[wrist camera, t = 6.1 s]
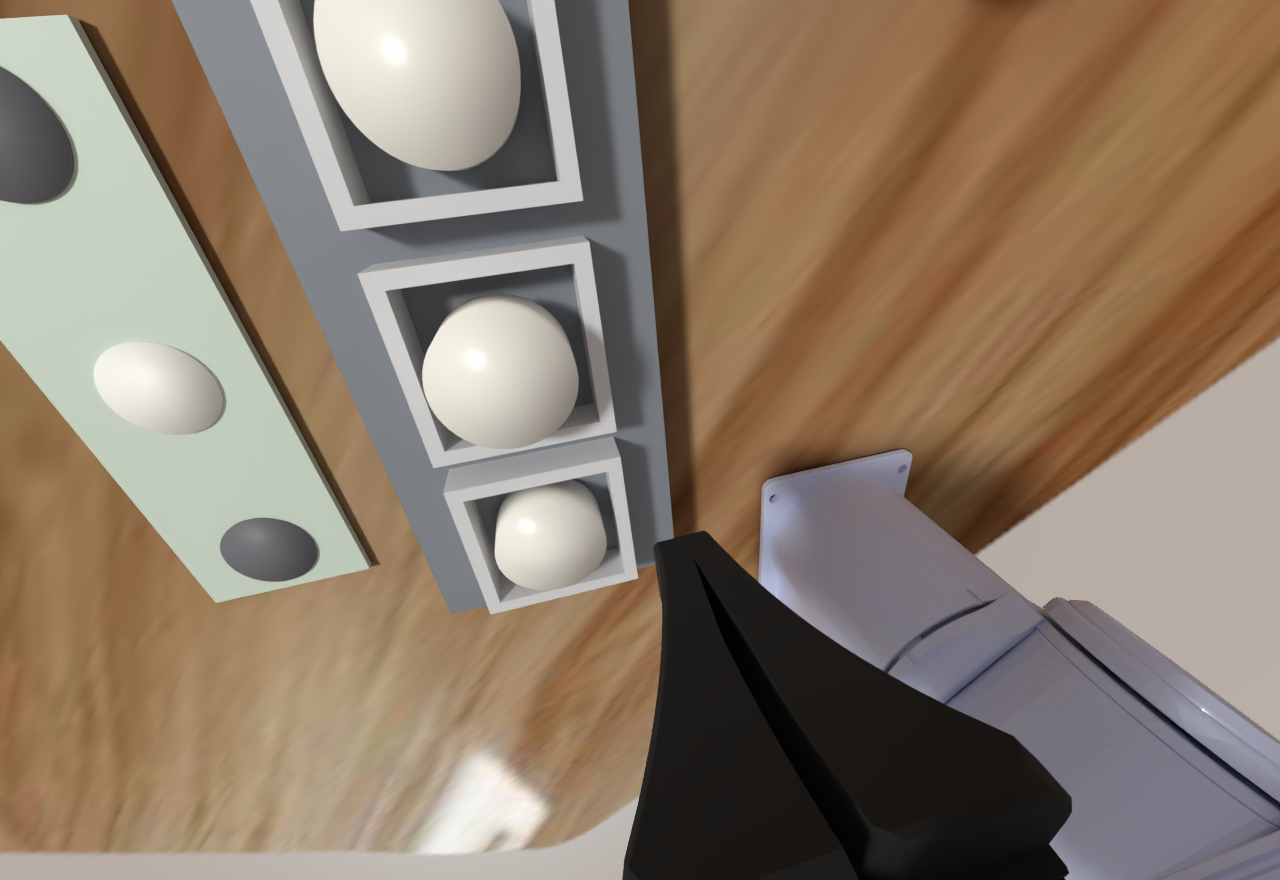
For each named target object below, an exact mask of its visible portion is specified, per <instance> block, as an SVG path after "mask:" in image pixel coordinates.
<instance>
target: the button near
mask: <svg viewBox="0 0 1280 880" xmlns="http://www.w3.org/2000/svg"><path fill="white" fill-rule="evenodd" d="M313 22H314V36H315V42H316V48H317V53H318V56H319V60H320V63H321V67H322V70H323V72H324V75H325V77H326V80H327V82H328V84H329V86H330V88H331V90H332V92H333V94H334V96H335V98H336V100H337V101H338V103H339V104H340V106H341V107H342V109H343V110H344V112H345V113H346V115H347V116H348V117H349V118H350V120H351V121H352V122H353V123H354V125H355V126H356V127H357V128H358V129H359V130H360V131H361V132H362V133H363V134H364V135H365V136H366V137H367V138H368V139H369V140H371V141H372V142H373V143H374V144H375V145H377V146H378V147H379V148H381V149H382V150H384V151H385V152H387V153H388V154H390V155H391V156H393V157H395V158H397V159H399V160H401V161H403V162H406V163H408V164H411V165H414V166H417V167H421V168H425V169H431V170H441V171H462V170H467V169H471V168H474V167H477V166H479V165H481V164H483V163H485V162H487V161H488V160H490V159H491V158H492V157H494V156H495V155H496V154H497V153H498V152H499V151H500V150H501V149H502V148H503V146H504V145H505V143H506V142H507V141H508V139H509V137H510V135H511V133H512V131H513V129H514V126H515V123H516V120H517V117H518V112H519V106H520V93H521V78H520V63H519V55H518V50H517V46H516V42H515V38H514V35H513V32H512V29H511V26H510V23H509V21H508V19H507V16H506V14H505V12H504V10H503V8H502V6H501V4H500V2H499V1H498V0H315V3H314V18H313Z"/></svg>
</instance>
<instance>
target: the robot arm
mask: <svg viewBox="0 0 1280 880" xmlns="http://www.w3.org/2000/svg"><path fill="white" fill-rule="evenodd" d="M911 462H912V454H911V453H910V452H909V451H907V450H905V449H900V450H896V451H891V452H887V453H882V454H878V455H873V456H869V457H864V458H860V459H855V460H851V461H846V462H842V463H837V464H833V465H828V466H824V467H819V468H815V469H810V470H806V471H802V472H797V473H793V474H788V475H784V476H779V477H775V478H771V479H768V480H767V481H766V482H765V483H764V484H763V487H762V503H761V528H760V554H759V579H758V581H757V580H755V579H754V578H753V577H752V576H751V575H750V574H749V573H748V572H747V571H745V570H744V569H743V568H742V567H741V566H740V565H739V564H738V563H737V562H736V561H735V560H734V559H733V558H732V557H731V556H730V555H729V554H728V553H727V552H726V551H725V550H724V549H723V548H722V547H721V546H720V545H719V544H718V543H717V542H716V541H715V540H714V539H713V538H712V537H711V536H710V534H709V533H707V532H706V531H701V532H697V533H693V534H689V535H685V536H681V537H677V538H673V539H669V540H665V541H661V542H657V543H656V544H655V545H654V547H653V550H654V557H655V564H656V571H657V577H658V584H659V591H660V597H661V601H662V649H661V664H660V675H659V684H658V694H657V701H656V708H655V716H654V723H653V729H652V735H651V741H650V747H649V752H648V757H647V762H646V767H645V772H644V778H643V783H642V788H641V793H640V797H639V802H638V806H637V810H636V814H635V819H634V822H633V826H632V830H631V835H630V839H629V843H628V847H627V851H626V855H625V860H624V869H623V880H1280V741H1279V740H1278V739H1276V738H1275V737H1274V736H1272V735H1271V734H1270V733H1268V732H1267V731H1266V730H1264V729H1263V728H1262V727H1260V726H1259V725H1258V724H1257V723H1255V722H1254V721H1252V720H1251V719H1250V718H1248V717H1247V716H1246V715H1245V714H1243V713H1242V712H1240V711H1239V710H1238V709H1236V708H1235V707H1234V706H1232V705H1231V704H1230V703H1228V702H1227V701H1226V700H1224V699H1223V698H1222V697H1220V696H1219V695H1218V694H1216V693H1215V692H1214V691H1212V690H1211V689H1210V688H1208V687H1207V686H1206V685H1204V684H1203V683H1201V682H1200V681H1199V680H1197V679H1196V678H1195V677H1193V676H1192V675H1191V674H1189V673H1188V672H1187V671H1185V670H1184V669H1182V668H1181V667H1180V666H1178V665H1177V664H1175V663H1174V662H1173V661H1172V660H1170V659H1169V658H1167V657H1166V656H1165V655H1163V654H1162V653H1161V652H1159V651H1158V650H1157V649H1155V648H1154V647H1152V646H1151V645H1150V644H1148V643H1147V642H1146V641H1144V640H1143V639H1141V638H1140V637H1139V636H1137V635H1136V634H1134V633H1133V632H1132V631H1130V630H1129V629H1128V628H1126V627H1125V626H1123V625H1122V624H1120V623H1119V622H1118V621H1116V620H1115V619H1114V618H1112V617H1111V616H1109V615H1108V614H1106V613H1105V612H1104V611H1102V610H1101V609H1099V608H1098V607H1096V606H1095V605H1093V604H1092V603H1090V602H1088V601H1079V600H1070V601H1067V600H1065V599H1063V598H1057V597H1056V598H1054V599H1052V600H1051V601H1050V602H1048V603H1047V604H1046V605H1045V606H1044V607H1043V608H1044V609H1045V610H1044V609H1042V608H1040V607H1039V606H1037V605H1035V604H1034V603H1032V602H1030V601H1028V600H1027V599H1026V598H1025V597H1024V596H1022V595H1021V594H1020V593H1019V592H1017V591H1016V590H1015V589H1014V588H1013V587H1011V586H1010V585H1009V584H1008V583H1007V582H1006V581H1004V580H1003V579H1002V578H1001V577H1000V576H998V575H997V574H996V573H995V572H994V571H992V570H991V569H990V568H989V567H988V566H986V565H985V564H984V563H983V562H981V561H980V560H979V559H978V558H977V557H975V556H974V555H973V554H972V553H971V552H969V551H968V550H967V549H966V548H965V547H963V546H962V545H961V544H960V543H959V542H957V541H956V540H955V539H954V538H953V537H951V536H950V535H949V534H948V533H947V532H945V531H944V530H943V529H942V528H941V527H939V526H938V525H937V524H936V523H935V522H933V521H932V520H931V519H930V518H929V517H927V516H926V515H925V514H924V513H923V512H921V511H920V510H919V509H918V508H917V507H915V506H914V505H913V504H912V503H911V502H909V501H908V500H907V499H906V498H905V497H904V492H905V488H906V484H907V479H908V475H909V471H910V467H911ZM900 466H901V467H900ZM774 494H775V496H774V497H772V498H770V497H771V496H772V495H774Z"/></svg>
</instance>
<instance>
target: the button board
mask: <svg viewBox="0 0 1280 880" xmlns="http://www.w3.org/2000/svg"><path fill="white" fill-rule="evenodd" d="M498 1H499V2H500V4H501V6H502V8H503V10H504V12H505V14H506V16H507V19H508V21H509V23H510V26H511V29H512V32H513V35H514V38H515V42H516V46H517V50H518V55H519V63H520V78H521V93H520V106H519V112H518V117H517V120H516V123H515V126H514V129H513V131H512V133H511V135H510V137H509V139H508V141H507V142H506V143H505V145H504V146H503V148H502V149H501V150H500V151H499V152H498V153H497V154H496V155H495V156H494V157H492V158H491V159H490V160H488V161H487V162H485V163H483V164H481V165H479V166H477V167H474V168H471V169H467V170H462V171H441V170H431V169H425V168H421V167H417V166H414V165H411V164H408V163H406V162H403V161H401V160H399V159H397V158H395V157H393V156H391V155H390V154H388V153H387V152H385V151H384V150H382V149H381V148H379V147H378V146H377V145H375V144H374V143H373V142H372V141H371V140H369V139H368V138H367V137H366V136H365V135H364V134H363V133H362V132H361V131H360V130H359V129H358V128H357V127H356V126H355V125H354V123H353V122H352V121H351V120H350V118H349V117H348V116H347V115H346V113H345V112H344V110H343V109H342V107H341V106H340V104H339V103H338V101H337V100H336V98H335V96H334V94H333V92H332V90H331V88H330V86H329V84H328V82H327V80H326V77H325V75H324V72H323V70H322V67H321V63H320V60H319V56H318V53H317V48H316V42H315V36H314V22H313V18H314V3H315V0H172V2H173V4H174V6H175V8H176V11H177V13H178V15H179V17H180V19H181V22H182V24H183V26H184V28H185V30H186V33H187V35H188V37H189V39H190V41H191V44H192V46H193V48H194V50H195V52H196V55H197V57H198V59H199V61H200V63H201V66H202V68H203V70H204V72H205V74H206V77H207V79H208V81H209V83H210V85H211V87H212V90H213V92H214V94H215V96H216V98H217V101H218V103H219V105H220V107H221V109H222V112H223V114H224V116H225V118H226V120H227V123H228V125H229V127H230V129H231V131H232V134H233V136H234V138H235V140H236V142H237V145H238V147H239V149H240V151H241V153H242V156H243V158H244V160H245V162H246V164H247V167H248V169H249V171H250V173H251V175H252V178H253V180H254V182H255V184H256V186H257V189H258V191H259V193H260V195H261V197H262V200H263V202H264V204H265V206H266V208H267V211H268V213H269V215H270V217H271V219H272V221H273V224H274V226H275V228H276V230H277V232H278V235H279V237H280V239H281V241H282V243H283V246H284V248H285V250H286V252H287V254H288V257H289V259H290V261H291V263H292V265H293V268H294V270H295V272H296V274H297V276H298V279H299V281H300V283H301V285H302V287H303V290H304V292H305V294H306V296H307V298H308V301H309V303H310V305H311V307H312V309H313V312H314V314H315V316H316V318H317V320H318V323H319V325H320V327H321V329H322V331H323V334H324V336H325V338H326V340H327V342H328V345H329V347H330V349H331V351H332V353H333V355H334V358H335V360H336V362H337V364H338V366H339V369H340V371H341V373H342V375H343V377H344V380H345V382H346V384H347V386H348V388H349V391H350V393H351V395H352V397H353V399H354V402H355V404H356V406H357V408H358V410H359V413H360V415H361V417H362V419H363V421H364V424H365V426H366V428H367V430H368V432H369V435H370V437H371V439H372V441H373V443H374V446H375V448H376V450H377V452H378V454H379V457H380V459H381V461H382V463H383V465H384V468H385V470H386V472H387V474H388V476H389V478H390V481H391V483H392V485H393V487H394V489H395V492H396V494H397V496H398V498H399V500H400V503H401V505H402V507H403V509H404V511H405V514H406V516H407V518H408V520H409V522H410V525H411V527H412V529H413V531H414V533H415V536H416V538H417V540H418V542H419V544H420V547H421V549H422V551H423V553H424V555H425V558H426V560H427V562H428V564H429V566H430V569H431V571H432V573H433V575H434V577H435V580H436V582H437V584H438V586H439V588H440V591H441V593H442V595H443V597H444V599H445V602H446V604H447V606H448V608H449V610H450V612H451V614H453V613H457V612H461V611H465V610H469V609H473V608H478V607H482V606H486V605H487V606H488V609H489V611H490V614H495V613H499V612H503V611H507V610H511V609H515V608H519V607H523V606H528V605H532V604H536V603H540V602H544V601H548V600H552V599H556V598H560V597H564V596H568V595H573V594H577V593H581V592H585V591H589V590H593V589H597V588H601V587H605V586H609V585H613V584H618V583H622V582H626V581H630V580H634V579H638V575H637V569H639V568H643V567H647V566H651V565H656V564H655V557H654V550H653V547H654V545H655V544H656V543H657V542H661V541H665V540H669V539H673V538H674V534H673V522H672V510H671V498H670V486H669V475H668V463H667V451H666V439H665V428H664V416H663V404H662V392H661V380H660V369H659V357H658V345H657V333H656V322H655V310H654V298H653V286H652V274H651V263H650V251H649V239H648V227H647V216H646V204H645V192H644V180H643V168H642V157H641V145H640V133H639V121H638V110H637V98H636V86H635V74H634V62H633V51H632V39H631V27H630V15H629V4H628V0H498ZM494 293H503V294H512V295H517V296H520V297H524V298H527V299H529V300H531V301H533V302H535V303H537V304H538V305H540V306H542V307H543V308H544V309H546V310H547V311H548V312H550V313H551V314H552V315H553V316H554V317H555V319H556V320H557V321H558V322H559V324H560V325H561V326H562V328H563V330H564V331H565V333H566V335H567V338H568V340H569V343H570V346H571V349H572V353H573V356H574V359H575V363H576V367H577V371H578V379H579V384H578V394H577V399H576V402H575V405H574V407H573V409H572V411H571V413H570V415H569V416H568V418H567V419H566V421H565V422H564V423H563V424H562V425H561V427H560V428H559V429H557V430H556V431H555V432H554V433H553V434H551V435H550V436H548V437H547V438H545V439H543V440H541V441H540V442H537V443H535V444H532V445H529V446H526V447H522V448H515V449H492V448H487V447H482V446H479V445H476V444H473V443H471V442H468V441H466V440H464V439H462V438H461V437H459V436H457V435H456V434H454V433H453V432H452V431H450V430H449V429H448V428H447V427H446V426H445V425H443V424H442V423H441V421H440V420H439V419H438V418H437V417H436V415H435V414H434V412H433V411H432V409H431V407H430V405H429V403H428V401H427V399H426V396H425V392H424V388H423V381H422V369H423V363H424V359H425V356H426V353H427V350H428V348H429V346H430V345H431V343H432V341H433V339H434V337H435V335H436V333H437V331H438V329H439V328H440V326H441V324H442V322H443V321H444V319H445V318H446V317H447V315H448V314H449V313H450V312H451V311H452V310H453V309H455V308H456V307H457V306H459V305H460V304H462V303H464V302H465V301H467V300H469V299H472V298H474V297H477V296H481V295H486V294H494ZM570 479H572V480H574V481H577V482H579V483H581V484H582V485H584V486H585V487H586V488H588V489H589V490H590V491H591V492H592V493H593V495H594V496H595V498H596V500H597V502H598V505H599V509H600V513H601V517H602V521H603V526H604V530H605V534H606V539H607V547H606V552H605V555H604V558H603V560H602V561H601V563H600V565H599V566H598V567H597V568H596V569H595V571H594V572H593V573H591V574H590V575H589V576H588V577H586V578H585V579H583V580H582V581H580V582H578V583H576V584H573V585H571V586H568V587H565V588H561V589H556V590H534V589H529V588H526V587H522V586H520V585H518V584H516V583H514V582H512V581H511V580H509V579H508V578H507V577H506V576H505V575H504V574H503V573H502V572H501V570H500V569H499V567H498V565H497V563H496V559H495V538H496V523H497V513H498V510H499V507H500V505H501V503H502V501H503V500H504V498H505V497H506V496H507V495H508V494H509V493H510V492H513V491H518V490H523V489H527V488H532V487H537V486H542V485H546V484H551V483H556V482H561V481H565V480H570Z"/></svg>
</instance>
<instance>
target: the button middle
mask: <svg viewBox="0 0 1280 880" xmlns="http://www.w3.org/2000/svg"><path fill="white" fill-rule="evenodd" d="M422 381H423V388H424V392H425V396H426V399H427V401H428V403H429V405H430V407H431V409H432V411H433V412H434V414H435V415H436V417H437V418H438V419H439V420H440V421H441V423H442V424H443V425H445V426H446V427H447V428H448V429H449V430H450V431H452V432H453V433H454V434H456V435H457V436H459V437H461V438H462V439H464V440H466V441H468V442H471V443H473V444H476V445H479V446H482V447H487V448H492V449H515V448H522V447H526V446H529V445H532V444H535V443H537V442H540V441H541V440H543V439H545V438H547V437H548V436H550V435H551V434H553V433H554V432H555V431H556V430H557V429H559V428H560V427H561V425H562V424H563V423H564V422H565V421H566V419H567V418H568V416H569V415H570V413H571V411H572V409H573V407H574V405H575V402H576V399H577V394H578V384H579V379H578V371H577V367H576V363H575V359H574V356H573V353H572V349H571V346H570V343H569V340H568V338H567V335H566V333H565V331H564V330H563V328H562V326H561V325H560V324H559V322H558V321H557V320H556V319H555V317H554V316H553V315H552V314H551V313H550V312H548V311H547V310H546V309H544V308H543V307H542V306H540V305H538V304H537V303H535V302H533V301H531V300H529V299H527V298H524V297H520V296H517V295H512V294H503V293H494V294H486V295H481V296H477V297H474V298H472V299H469V300H467V301H465V302H464V303H462V304H460V305H459V306H457V307H456V308H455V309H453V310H452V311H451V312H450V313H449V314H448V315H447V317H446V318H445V319H444V321H443V322H442V324H441V326H440V328H439V329H438V331H437V333H436V335H435V337H434V339H433V341H432V343H431V345H430V346H429V348H428V350H427V353H426V356H425V359H424V363H423V369H422Z"/></svg>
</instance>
